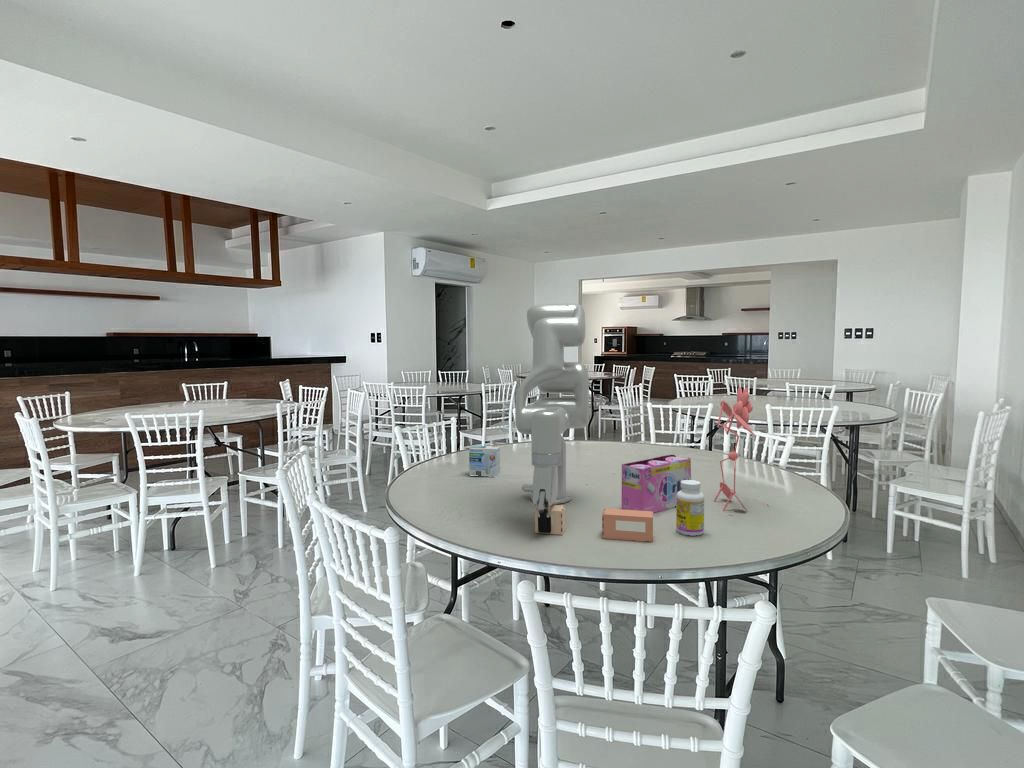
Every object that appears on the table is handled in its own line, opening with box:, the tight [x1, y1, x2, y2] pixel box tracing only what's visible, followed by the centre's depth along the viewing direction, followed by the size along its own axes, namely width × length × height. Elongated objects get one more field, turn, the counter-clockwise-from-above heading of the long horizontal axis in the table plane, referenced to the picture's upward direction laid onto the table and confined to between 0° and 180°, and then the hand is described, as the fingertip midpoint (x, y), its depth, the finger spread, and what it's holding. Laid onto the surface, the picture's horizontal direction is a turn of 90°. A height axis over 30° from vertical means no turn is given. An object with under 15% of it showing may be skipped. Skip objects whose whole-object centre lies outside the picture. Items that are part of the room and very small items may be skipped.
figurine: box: [713, 386, 770, 517], centre depth 157 cm, size 15×26×35 cm, turn 175°
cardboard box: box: [601, 507, 654, 543], centre depth 133 cm, size 12×5×6 cm, turn 75°
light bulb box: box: [468, 444, 501, 476], centre depth 200 cm, size 11×7×11 cm, turn 81°
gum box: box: [621, 454, 692, 514], centre depth 159 cm, size 24×8×14 cm, turn 126°
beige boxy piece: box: [534, 504, 567, 536], centre depth 138 cm, size 7×5×6 cm
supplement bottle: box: [675, 479, 705, 537], centre depth 136 cm, size 7×7×13 cm
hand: (546, 527), depth 138 cm, fingers closed on beige boxy piece, 5 cm apart
